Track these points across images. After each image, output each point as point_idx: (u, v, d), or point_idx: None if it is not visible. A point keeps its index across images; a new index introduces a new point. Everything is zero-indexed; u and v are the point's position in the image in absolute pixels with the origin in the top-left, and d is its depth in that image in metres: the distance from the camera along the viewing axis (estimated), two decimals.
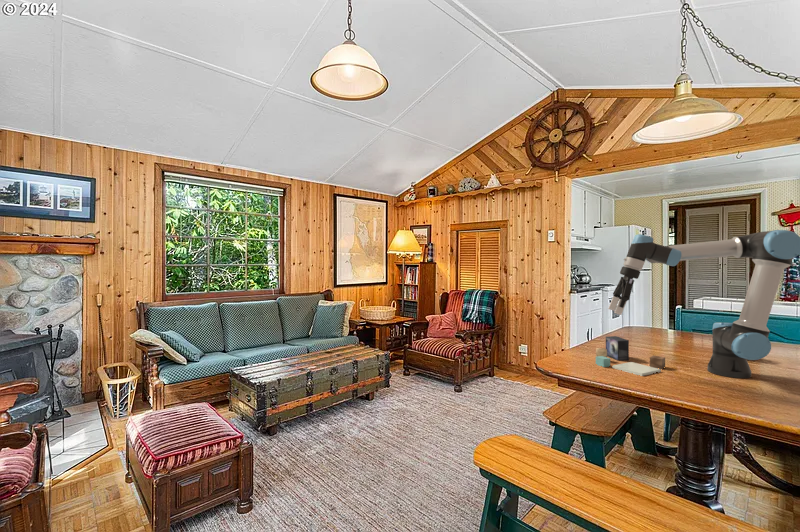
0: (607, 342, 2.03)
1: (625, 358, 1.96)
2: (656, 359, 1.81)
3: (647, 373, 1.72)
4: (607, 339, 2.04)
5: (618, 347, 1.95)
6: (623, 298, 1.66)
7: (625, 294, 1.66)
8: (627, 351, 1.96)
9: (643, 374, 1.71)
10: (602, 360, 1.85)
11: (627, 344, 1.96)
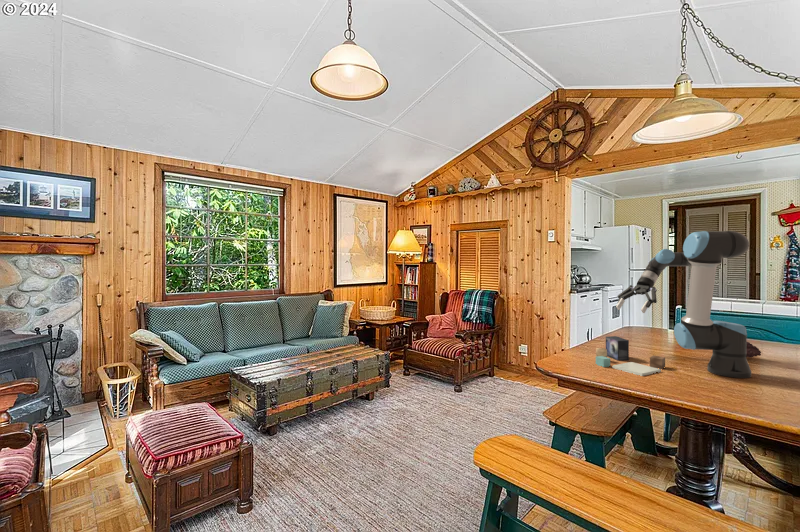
0: (607, 342, 2.03)
1: (625, 358, 1.96)
2: (656, 359, 1.81)
3: (647, 373, 1.72)
4: (607, 339, 2.04)
5: (618, 347, 1.95)
6: (619, 298, 2.16)
7: None
8: (627, 351, 1.96)
9: (643, 374, 1.71)
10: (602, 360, 1.85)
11: (627, 344, 1.96)
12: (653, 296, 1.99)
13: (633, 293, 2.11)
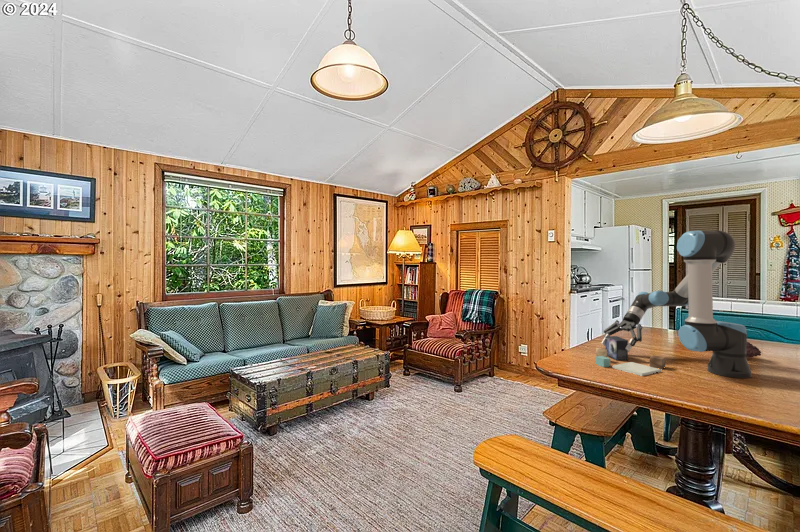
0: (607, 342, 2.04)
1: (624, 358, 1.96)
2: (656, 359, 1.81)
3: (647, 373, 1.72)
4: (607, 339, 2.04)
5: (617, 347, 1.96)
6: (605, 333, 2.12)
7: None
8: (626, 351, 1.96)
9: (643, 374, 1.71)
10: (602, 360, 1.85)
11: (626, 344, 1.96)
12: (638, 334, 1.95)
13: (619, 329, 2.07)
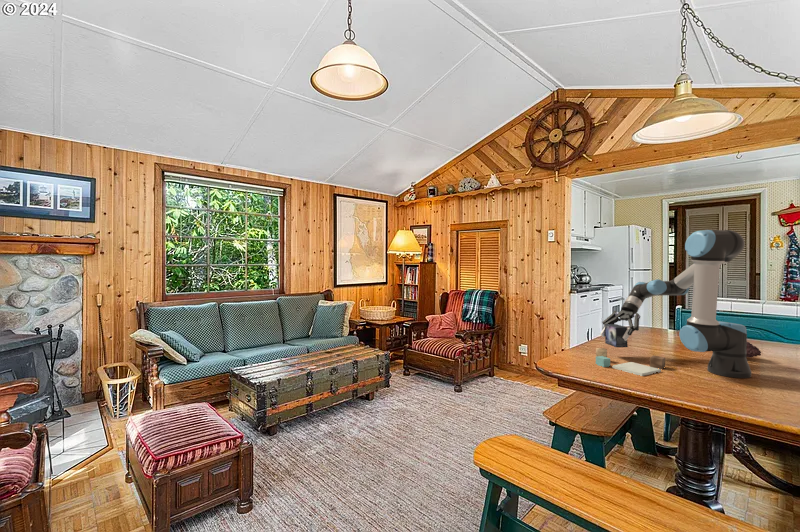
0: (606, 330, 2.04)
1: (624, 344, 1.96)
2: (656, 359, 1.81)
3: (647, 373, 1.72)
4: (606, 327, 2.04)
5: (616, 334, 1.96)
6: (604, 325, 2.11)
7: None
8: None
9: (643, 374, 1.71)
10: (602, 360, 1.85)
11: (625, 331, 1.96)
12: (635, 323, 1.95)
13: (617, 319, 2.06)
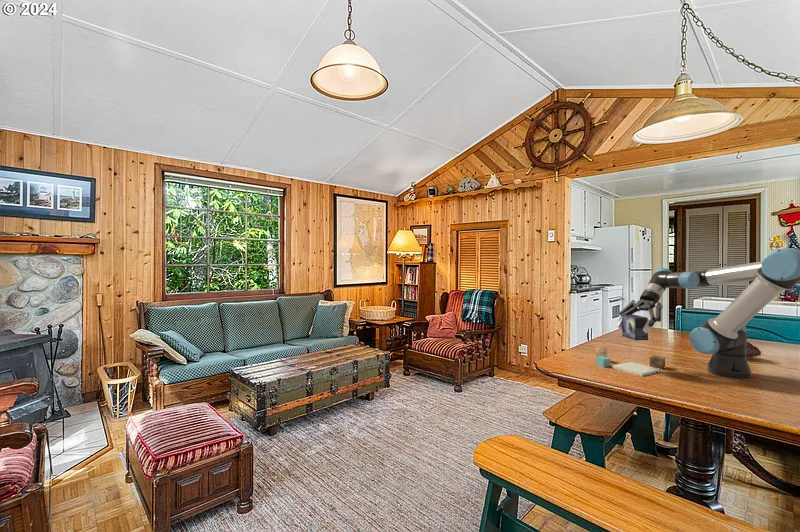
0: (623, 321, 1.83)
1: (644, 337, 1.75)
2: (656, 359, 1.81)
3: (647, 373, 1.72)
4: (623, 317, 1.83)
5: (635, 325, 1.75)
6: None
7: None
8: None
9: (643, 374, 1.71)
10: (602, 360, 1.85)
11: None
12: (657, 314, 1.74)
13: (636, 309, 1.85)
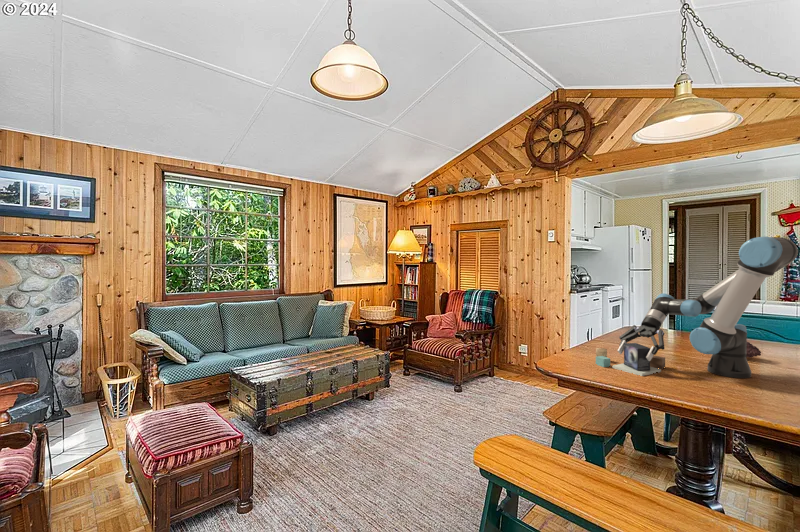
0: (625, 349, 1.82)
1: (646, 368, 1.74)
2: (656, 359, 1.81)
3: (647, 373, 1.72)
4: (625, 346, 1.82)
5: (638, 355, 1.74)
6: (621, 340, 1.90)
7: None
8: None
9: (643, 374, 1.71)
10: (602, 360, 1.85)
11: None
12: (660, 341, 1.73)
13: (637, 335, 1.85)
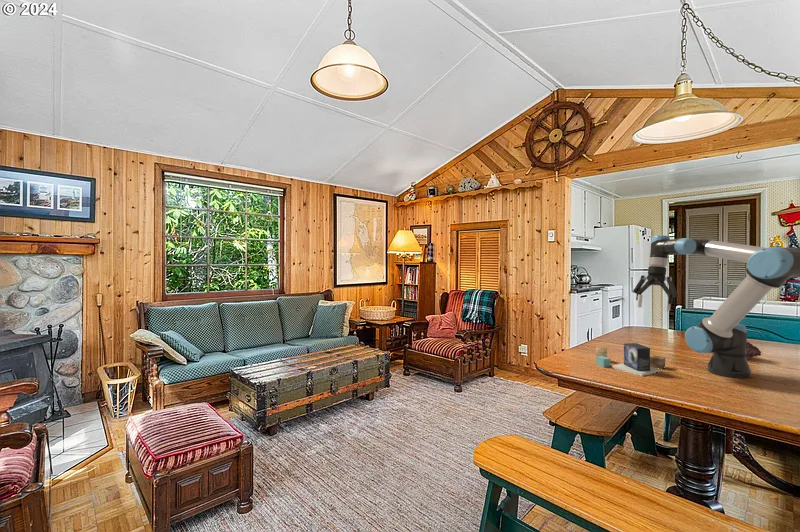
0: (625, 349, 1.82)
1: (646, 368, 1.74)
2: (656, 359, 1.81)
3: (647, 373, 1.72)
4: (625, 346, 1.82)
5: (638, 355, 1.74)
6: (635, 292, 1.99)
7: None
8: (648, 360, 1.74)
9: (643, 374, 1.71)
10: (602, 360, 1.85)
11: (648, 352, 1.74)
12: (672, 290, 1.82)
13: (648, 285, 1.93)
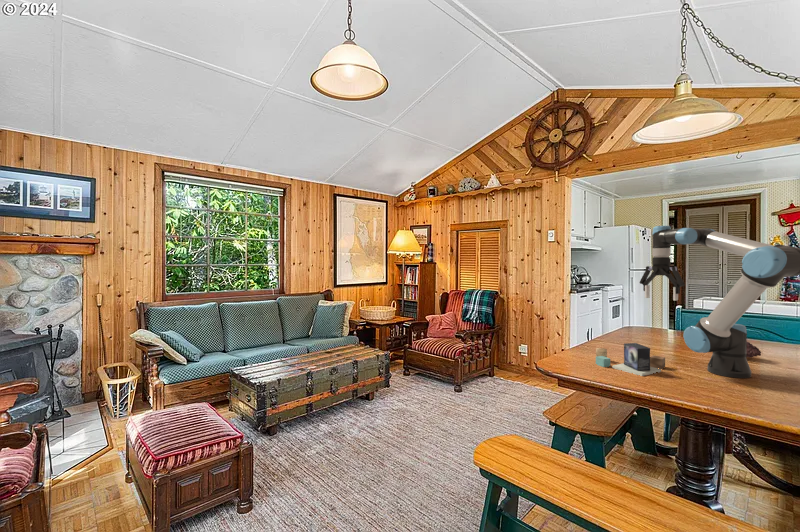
0: (625, 349, 1.82)
1: (646, 368, 1.74)
2: (656, 359, 1.81)
3: (647, 373, 1.72)
4: (625, 346, 1.82)
5: (638, 355, 1.74)
6: None
7: None
8: (648, 360, 1.74)
9: (643, 374, 1.71)
10: (602, 360, 1.85)
11: (648, 352, 1.74)
12: (678, 280, 1.83)
13: (654, 275, 1.94)
